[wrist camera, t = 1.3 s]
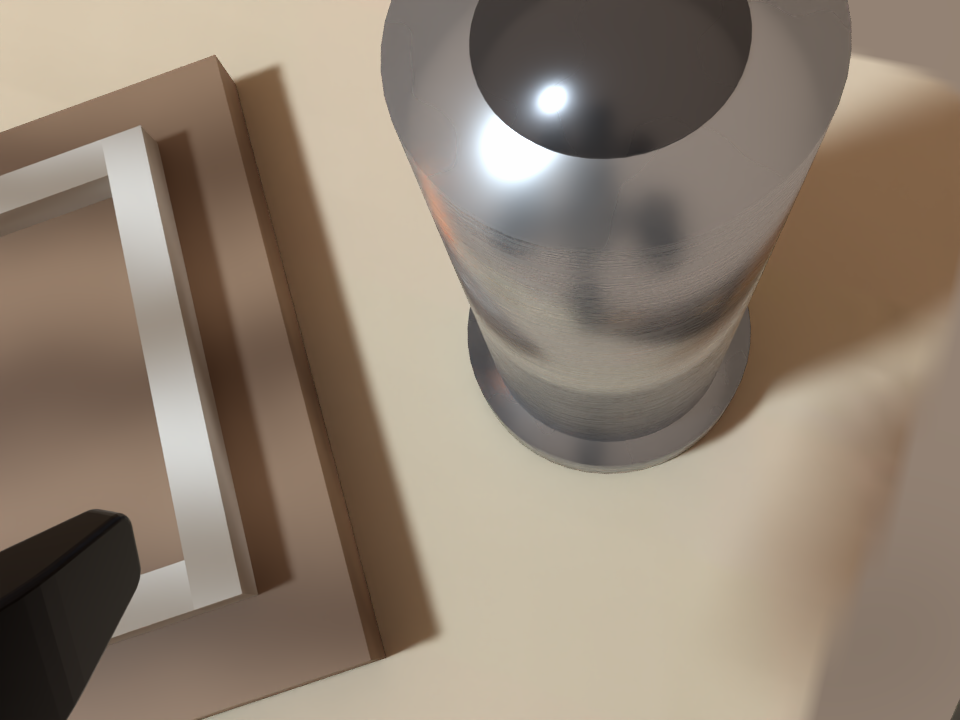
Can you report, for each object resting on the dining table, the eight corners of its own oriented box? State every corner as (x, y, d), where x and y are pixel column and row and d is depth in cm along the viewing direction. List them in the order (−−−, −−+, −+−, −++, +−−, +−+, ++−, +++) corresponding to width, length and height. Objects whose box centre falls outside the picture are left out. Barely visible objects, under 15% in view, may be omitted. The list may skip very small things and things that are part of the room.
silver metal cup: (749, 476, 22) (934, 291, 10) (468, 470, 23) (310, 296, 11) (737, 216, 24) (878, -211, 12) (479, 222, 25) (358, -166, 13)
